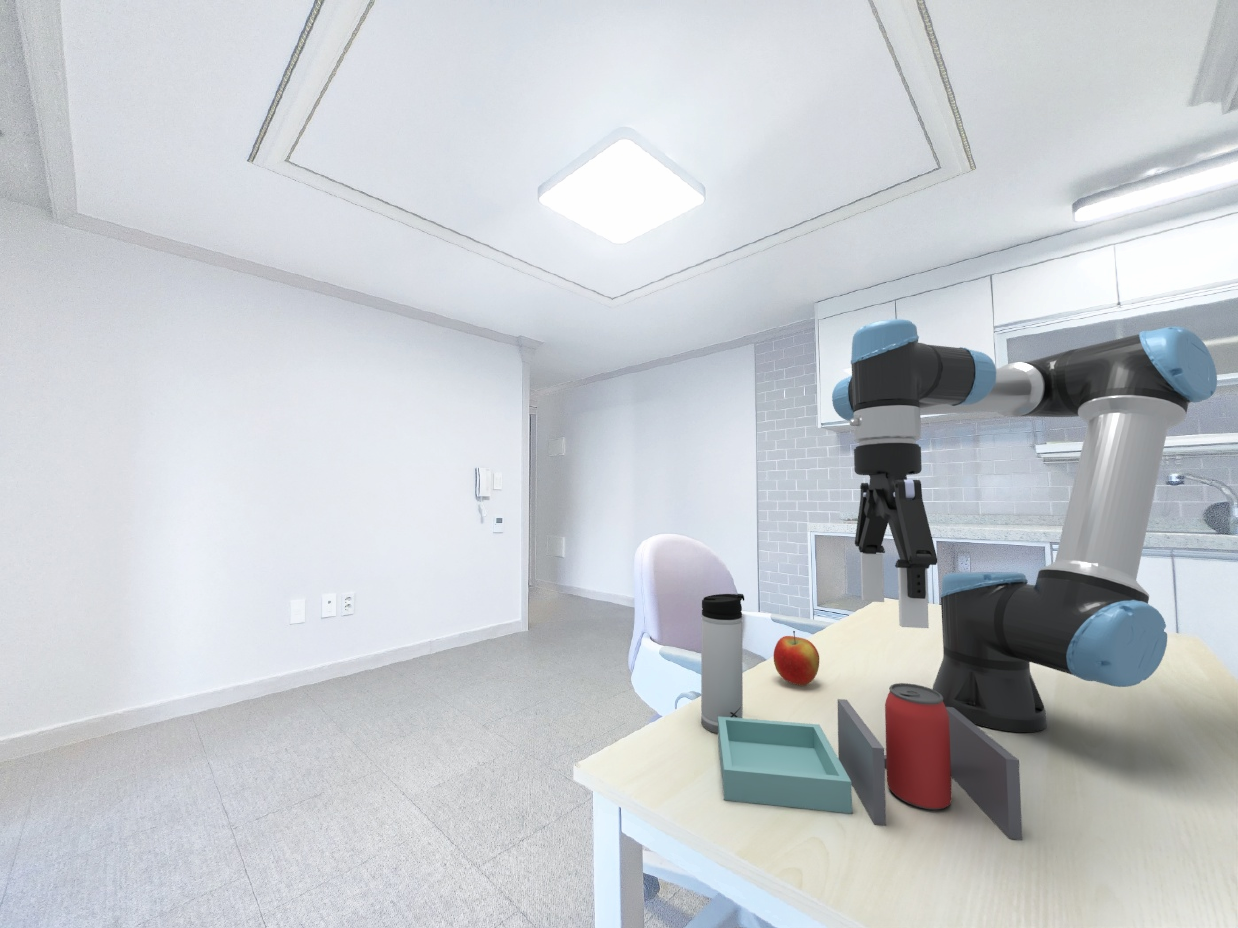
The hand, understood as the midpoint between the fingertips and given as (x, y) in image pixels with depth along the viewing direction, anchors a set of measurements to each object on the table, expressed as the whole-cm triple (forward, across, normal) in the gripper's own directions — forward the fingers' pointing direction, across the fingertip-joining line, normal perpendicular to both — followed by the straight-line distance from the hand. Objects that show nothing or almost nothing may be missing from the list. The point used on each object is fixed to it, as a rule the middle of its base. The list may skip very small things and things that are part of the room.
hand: (891, 612), depth 61 cm
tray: (+21, 0, -14) cm, 25 cm away
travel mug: (+21, -12, -20) cm, 32 cm away
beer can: (+21, +1, +2) cm, 21 cm away
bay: (+21, +1, +2) cm, 21 cm away
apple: (+21, -33, -6) cm, 39 cm away
